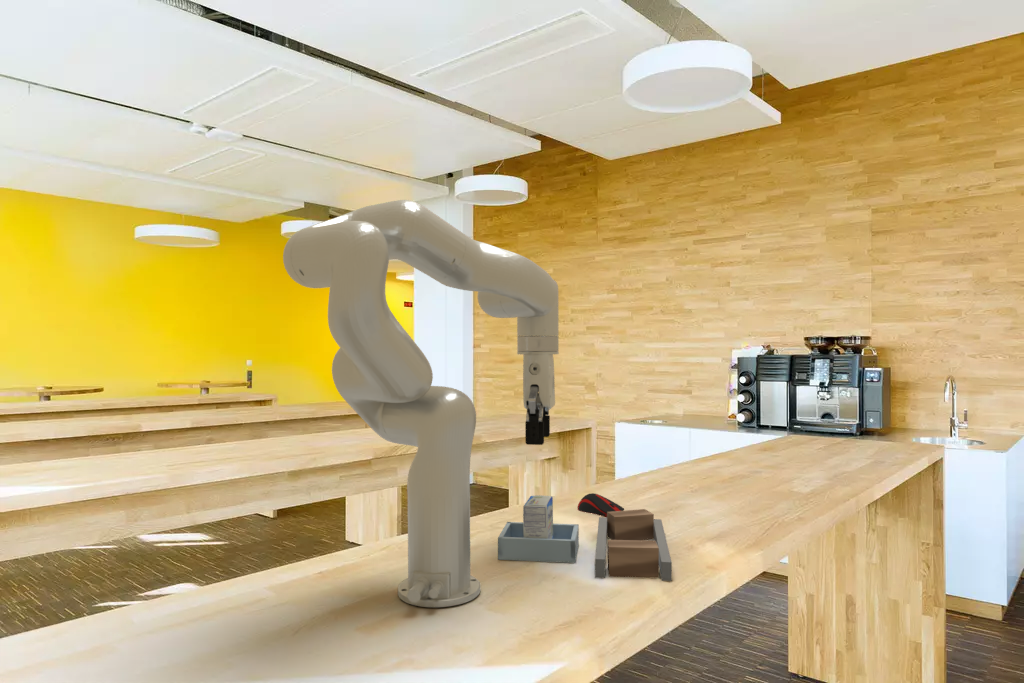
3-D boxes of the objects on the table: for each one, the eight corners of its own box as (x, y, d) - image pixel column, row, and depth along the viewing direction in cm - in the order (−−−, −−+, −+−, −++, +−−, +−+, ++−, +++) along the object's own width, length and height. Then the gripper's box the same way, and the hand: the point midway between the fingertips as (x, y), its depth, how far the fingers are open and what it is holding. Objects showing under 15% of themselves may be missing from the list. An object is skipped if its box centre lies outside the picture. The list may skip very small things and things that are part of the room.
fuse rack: (671, 581, 110) (671, 562, 110) (595, 577, 112) (594, 559, 112) (661, 534, 136) (661, 519, 136) (599, 532, 137) (599, 517, 137)
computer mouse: (609, 520, 148) (609, 501, 148) (572, 510, 156) (572, 493, 156) (627, 514, 152) (627, 496, 152) (590, 505, 160) (590, 488, 160)
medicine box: (548, 554, 121) (547, 505, 121) (523, 553, 122) (522, 504, 121) (553, 541, 128) (553, 495, 128) (529, 540, 129) (529, 494, 129)
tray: (575, 562, 119) (575, 541, 119) (497, 559, 121) (497, 537, 121) (578, 544, 129) (578, 524, 129) (507, 541, 131) (507, 521, 131)
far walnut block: (653, 539, 133) (653, 514, 132) (615, 543, 131) (614, 517, 131) (644, 534, 136) (644, 509, 136) (607, 537, 134) (607, 511, 134)
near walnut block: (658, 578, 111) (658, 548, 111) (609, 577, 112) (608, 547, 112) (655, 570, 115) (655, 540, 115) (607, 569, 116) (607, 539, 116)
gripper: (553, 346, 116) (554, 448, 116) (562, 345, 133) (562, 434, 133) (509, 346, 117) (510, 447, 117) (524, 345, 134) (524, 433, 134)
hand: (538, 440), depth 125 cm, fingers open, 9 cm apart
